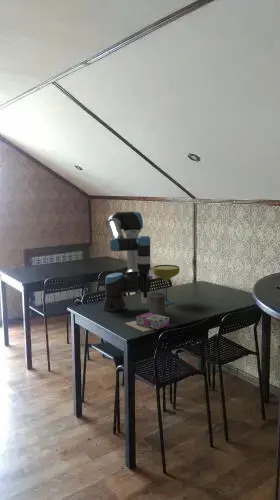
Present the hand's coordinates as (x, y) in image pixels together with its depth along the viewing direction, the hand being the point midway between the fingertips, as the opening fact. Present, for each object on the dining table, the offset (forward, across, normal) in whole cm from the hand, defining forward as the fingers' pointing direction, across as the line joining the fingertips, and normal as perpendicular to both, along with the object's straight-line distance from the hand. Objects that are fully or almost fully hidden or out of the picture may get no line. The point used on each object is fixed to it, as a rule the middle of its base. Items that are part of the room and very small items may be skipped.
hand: (144, 302), depth 260 cm
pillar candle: (+13, -8, +16) cm, 22 cm away
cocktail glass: (+13, -29, +41) cm, 52 cm away
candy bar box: (+10, -3, 0) cm, 11 cm away
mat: (+13, +2, 0) cm, 13 cm away
